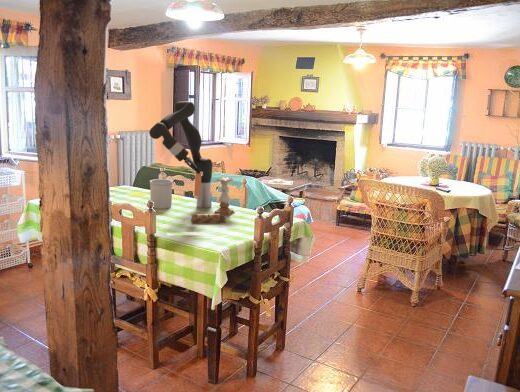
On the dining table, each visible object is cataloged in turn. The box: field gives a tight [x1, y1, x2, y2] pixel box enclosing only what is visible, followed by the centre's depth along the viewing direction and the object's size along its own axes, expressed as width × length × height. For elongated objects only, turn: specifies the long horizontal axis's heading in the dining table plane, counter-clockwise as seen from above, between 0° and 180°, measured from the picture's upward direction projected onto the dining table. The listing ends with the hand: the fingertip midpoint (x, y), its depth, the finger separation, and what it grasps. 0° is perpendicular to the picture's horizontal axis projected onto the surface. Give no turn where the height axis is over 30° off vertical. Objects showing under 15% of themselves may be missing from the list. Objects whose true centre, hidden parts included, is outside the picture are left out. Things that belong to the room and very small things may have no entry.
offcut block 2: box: [208, 213, 220, 218], centre depth 275 cm, size 6×3×4 cm, turn 101°
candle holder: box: [213, 177, 236, 217], centre depth 295 cm, size 11×11×24 cm
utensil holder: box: [149, 178, 173, 210], centre depth 314 cm, size 15×15×18 cm
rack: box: [190, 213, 227, 225], centre depth 277 cm, size 20×11×4 cm, turn 101°
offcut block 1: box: [197, 213, 209, 218], centre depth 274 cm, size 6×3×4 cm, turn 101°
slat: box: [193, 171, 203, 197], centre depth 276 cm, size 4×2×14 cm, turn 101°
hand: (199, 172), depth 275 cm, fingers closed on slat, 1 cm apart
